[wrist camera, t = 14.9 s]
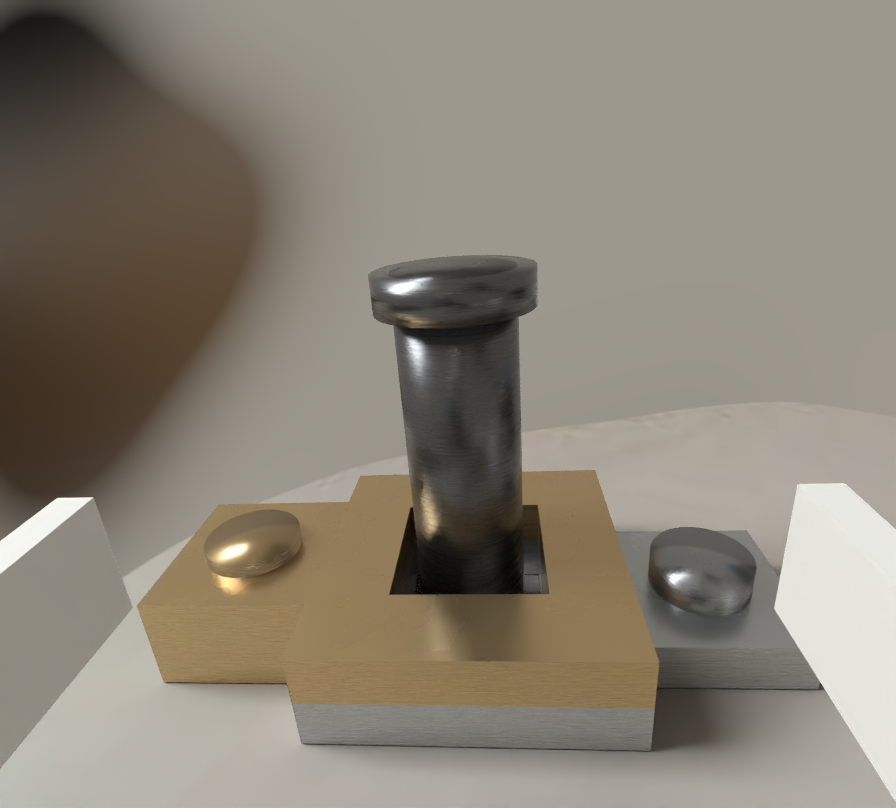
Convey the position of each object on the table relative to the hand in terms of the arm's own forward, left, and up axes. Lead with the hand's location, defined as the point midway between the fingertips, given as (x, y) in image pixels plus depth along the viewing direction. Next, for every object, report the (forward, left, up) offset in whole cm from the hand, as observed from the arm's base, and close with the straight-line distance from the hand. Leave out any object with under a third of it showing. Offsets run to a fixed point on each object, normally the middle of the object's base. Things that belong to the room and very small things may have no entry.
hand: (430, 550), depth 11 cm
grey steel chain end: (-3, -9, -10) cm, 14 cm away
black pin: (0, -9, -10) cm, 13 cm away
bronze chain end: (+3, -9, -10) cm, 14 cm away
